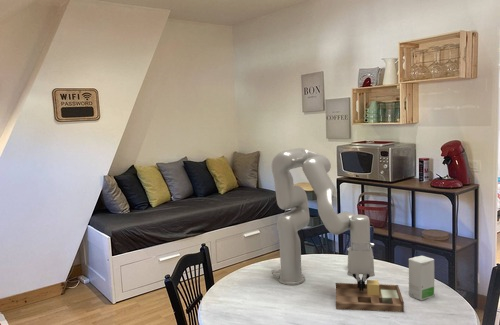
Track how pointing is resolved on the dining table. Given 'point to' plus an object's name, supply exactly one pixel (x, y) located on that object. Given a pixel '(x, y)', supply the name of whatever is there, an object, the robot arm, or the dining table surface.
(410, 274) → the skincare box
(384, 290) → the board
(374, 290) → the ochre block
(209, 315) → the dining table surface
